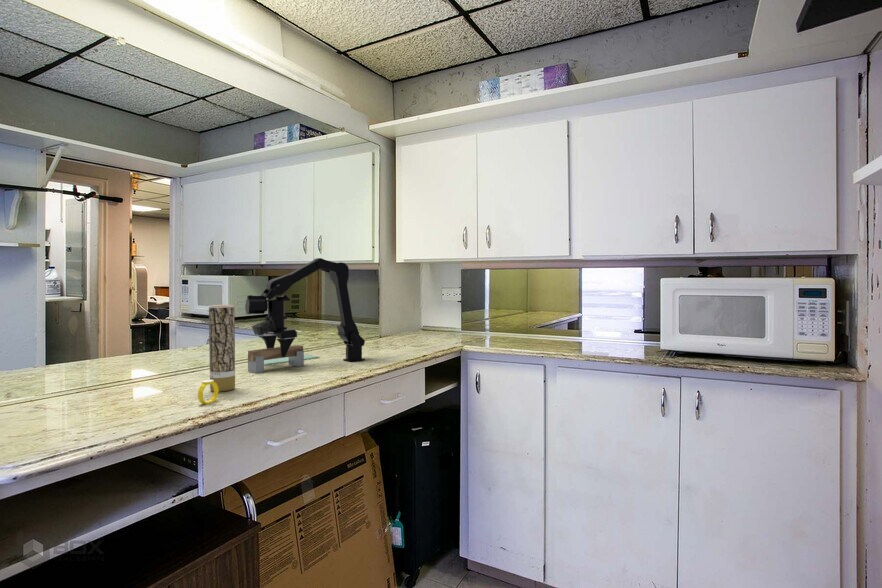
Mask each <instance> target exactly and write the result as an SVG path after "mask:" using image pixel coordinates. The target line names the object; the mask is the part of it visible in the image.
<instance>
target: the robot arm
mask: <svg viewBox="0 0 882 588" xmlns="http://www.w3.org/2000/svg"><path fill="white" fill-rule="evenodd" d="M319 270H320V271H323V272H325V273H329V276H330V280H331V281H332V282H333V284H334V286H335V291H336V296H337V297H336V298H337V304H338V310H339V317H340V323H339V325H336V328H337V336H339V338H340V340H342V341H343V344H344V345H345V358H343V359H342V360H343V361H345V362H351V361H352V363H353V362H354V361H355V362H360V361H365V360H366V358H363V347H364V346H365V342H366V340H365V339H364V338H363V337H362V336H361V335H360V332H359V329H358V325H357V324H356V323H355V320H354V319H353V312H352V306H351V301H350V295H349V294H350V293H349V288H348V283H349V282H348V281H349V277H350V273H349V271H350V269H349V266H348V265H347V264H346V263H345V262H342V261H341V262H334V261H331V260H327V259H324V258H321V257H319V258H318V257H317V258H313V259H312V260H311V261H310V262H308V263H305V264H304V265H303V266H300V267H299V268H297V269H295V270H293V271H292V272H290V273H288V274H285V275H282V276H279V277H275V278H271V279H270V280H268V281H267V282H266V285H265V287H266V288H265V289H264V290H263V292H262V293H261V294H260V295H252V294H251V295H250V294H247V295H246V300H245V304H244V306H245V313H246V315H265V313H266V312H267V315H266V316H265V317H264V320H263V321H261V322H259V323H256V324H253V325H252V326H251V328H252V331H253V333H254V336H255V335H256V336H258V337H259V338H260V339H261V340H263V341H264V344H265V347H266V349H268V348H275V345H276V340H277V342H278V343H279V345H280V346H279V347H280V348H281V355H282V357H285V356H286V354H287V352H288V350H289V347H290V346H292V344H293V342H294V340H296V338H298V332H297V330H296V329H292V328H288V326H286V325H285V323H286V322H285V321H286V320H287V319H288V315H285V313H286V312H285V302H287V301H288V302H290V301H291V298H289V297H288V296H287V294H284V293H286V292H287V291H288V290H289V289H291V287H292V286H293V285H294V284H296V283H297V282H299V281H301V280H302V279H304V278H306V277H308V276H310V275H311V274H314V273H315V272H318V271H319Z"/></svg>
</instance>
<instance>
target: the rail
mask: <svg viewBox="0 0 882 588" xmlns="http://www.w3.org/2000/svg"><path fill="white" fill-rule="evenodd" d="M296 351H304V345H300V344H295V345H291V346H290V347H289V350H288V352H287V354H286V356H285V357H292V356H296ZM255 356H264V360H270V359H277V358H285V357H282V355H281V348H280V346H279V347H274V348H268V349H267V348H263V349H262V348H260V349H253V350H252V349H251V350H247V362H248V361H252V362H255Z"/></svg>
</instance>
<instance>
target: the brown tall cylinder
mask: <svg viewBox="0 0 882 588" xmlns="http://www.w3.org/2000/svg"><path fill="white" fill-rule="evenodd" d="M235 326H236V325H235V306H234V304H212V305H208V333H209V334H208V339H209V350H208V351H209V354H208V355H209V380H214V382H215V383H216V384H217V386H218V390H219V392H222V391H223V392H228V391H233V390H234V389H235V388H236V350H235V349H236V344H235V343H236V340H235V339H236V337H235V332H236V331H235ZM209 389H210V391H212V392H214V387H213V385H212V384H209Z"/></svg>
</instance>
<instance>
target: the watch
mask: <svg viewBox="0 0 882 588" xmlns="http://www.w3.org/2000/svg"><path fill="white" fill-rule="evenodd" d="M201 383H202V384H201V385H200V386H199V387H198V390H197V398H198V402H199V403H201V404H202V405H208V403H209V404H210V402H211V403H214V402H215V401H216V400H217V398H218V396H219V390H218V386H217V384H216V383H215V382H214V380H210V379H205V380H204V379H203V380H202V381H201ZM210 384H212V385H213V387H214V391H213V394H212V396H211V398H210V399H209V400H207V401H205V398H204V397H203V396H204V390H205V388H206V387H207V386H208V385H210ZM213 401H214V402H213Z"/></svg>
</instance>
